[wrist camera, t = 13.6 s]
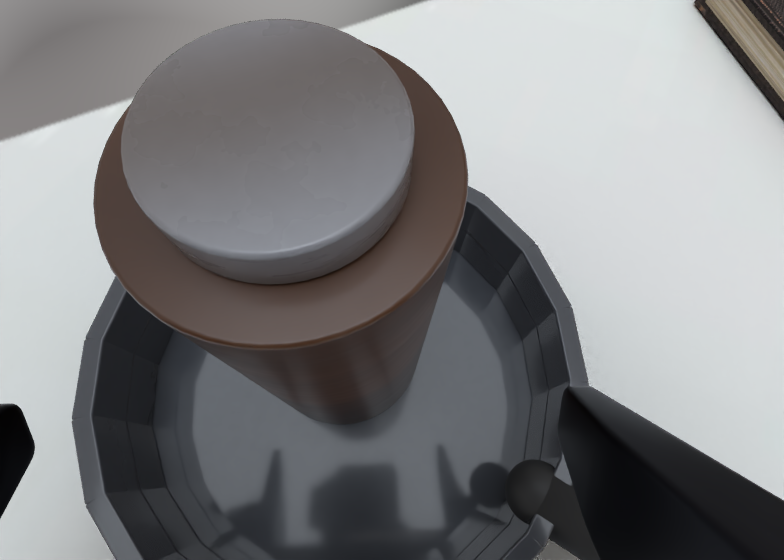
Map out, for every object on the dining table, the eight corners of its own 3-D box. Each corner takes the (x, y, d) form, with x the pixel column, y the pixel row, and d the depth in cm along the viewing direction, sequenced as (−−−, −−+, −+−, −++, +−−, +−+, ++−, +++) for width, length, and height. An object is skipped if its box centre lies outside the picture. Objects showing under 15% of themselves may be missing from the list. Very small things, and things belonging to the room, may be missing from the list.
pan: (602, 324, 20) (661, 286, 16) (412, 724, 15) (423, 824, 11) (300, 158, 22) (282, 87, 18) (58, 451, 18) (-43, 445, 14)
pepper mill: (446, 376, 18) (567, 200, 6) (307, 454, 17) (125, 424, 5) (375, 254, 20) (360, -69, 8) (245, 317, 19) (2, 55, 7)
